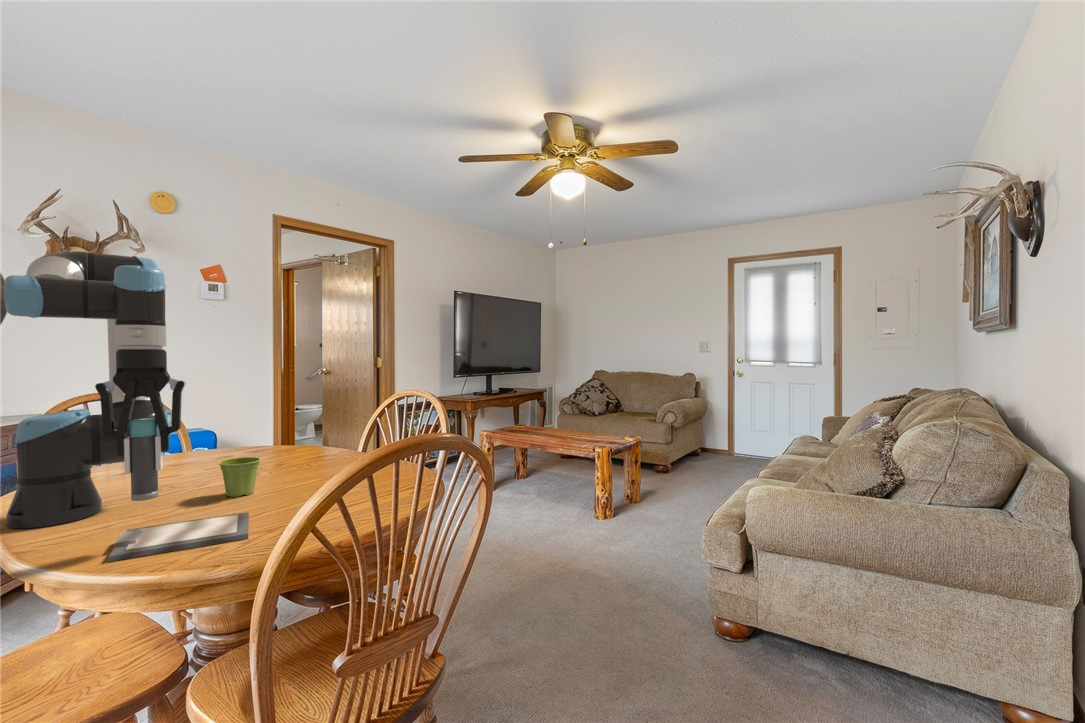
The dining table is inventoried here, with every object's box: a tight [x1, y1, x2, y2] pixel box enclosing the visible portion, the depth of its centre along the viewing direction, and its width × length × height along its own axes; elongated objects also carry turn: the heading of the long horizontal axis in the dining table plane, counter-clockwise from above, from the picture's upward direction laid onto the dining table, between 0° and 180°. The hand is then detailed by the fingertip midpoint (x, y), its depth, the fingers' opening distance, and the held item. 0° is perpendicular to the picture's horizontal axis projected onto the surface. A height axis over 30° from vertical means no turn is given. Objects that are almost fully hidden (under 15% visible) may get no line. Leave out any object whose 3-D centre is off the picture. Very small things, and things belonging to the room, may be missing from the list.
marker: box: [129, 418, 159, 502], centre depth 95 cm, size 4×4×15 cm
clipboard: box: [108, 511, 250, 563], centre depth 98 cm, size 21×15×2 cm
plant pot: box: [217, 456, 262, 498], centre depth 128 cm, size 9×9×9 cm
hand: (144, 470), depth 95 cm, fingers closed on marker, 4 cm apart
